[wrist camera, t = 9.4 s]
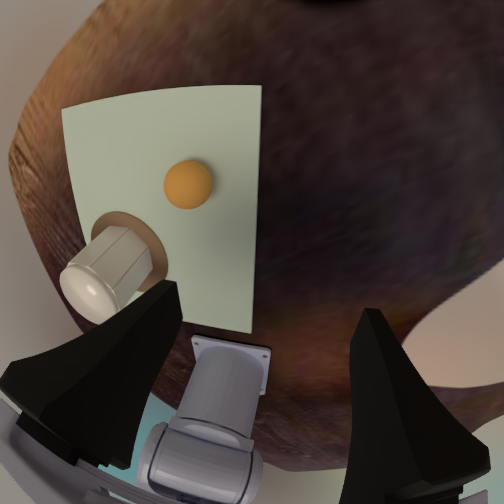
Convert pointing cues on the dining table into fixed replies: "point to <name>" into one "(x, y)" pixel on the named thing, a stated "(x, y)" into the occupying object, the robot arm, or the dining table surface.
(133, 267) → the cup
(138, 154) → the placemat
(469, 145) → the dining table surface
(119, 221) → the coaster
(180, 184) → the ball
